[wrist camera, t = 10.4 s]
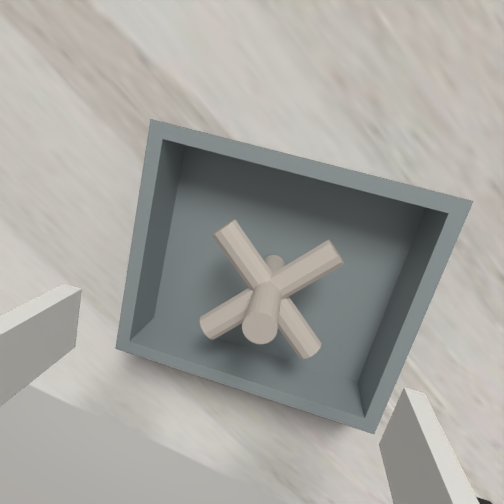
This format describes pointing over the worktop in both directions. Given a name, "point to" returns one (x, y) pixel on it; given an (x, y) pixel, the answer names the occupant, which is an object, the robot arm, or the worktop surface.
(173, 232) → the bin
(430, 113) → the worktop surface
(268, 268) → the pipe connector
